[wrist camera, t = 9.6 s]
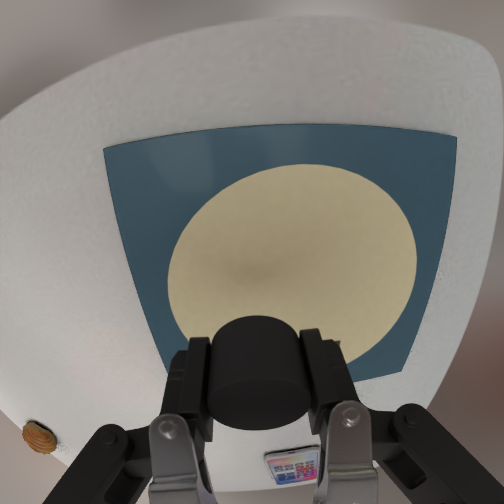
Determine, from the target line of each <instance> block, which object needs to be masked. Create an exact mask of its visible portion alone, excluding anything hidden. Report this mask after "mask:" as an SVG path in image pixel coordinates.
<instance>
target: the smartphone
mask: <svg viewBox="0 0 504 504" xmlns="http://www.w3.org/2000/svg"><path fill="white" fill-rule="evenodd" d="M319 451H320V448H319V447H309V448H304V449H299V450H293V451H287V452H281V453H274V454H268V455H266V456H265V457H264V462H265V464H266V466H267V468H268V470H269V472H270V474H271V477H272V479H273V480H274V483H275V484H277V485H282V484H289V483H295V482H301V481H306V480H312V479H315V478H317V472H318V462H319Z"/></svg>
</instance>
